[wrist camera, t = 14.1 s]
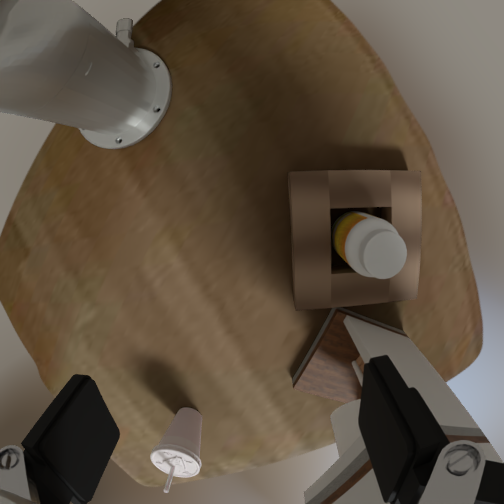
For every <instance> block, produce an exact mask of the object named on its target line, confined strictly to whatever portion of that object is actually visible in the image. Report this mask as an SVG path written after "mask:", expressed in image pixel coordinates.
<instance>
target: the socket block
mask: <svg viewBox="0 0 504 504" xmlns="http://www.w3.org/2000/svg"><path fill="white" fill-rule="evenodd" d="M288 188H289V205H290V224H291V245H292V270H293V300H294V305H295V309H296V311H297V310H311V309H324V308H336V307H347V306H357V305H367V304H377V303H386V302H394V301H402V300H410V299H417V292H418V282H419V270H420V255H421V232H422V189H421V171H402V170H323V171H294V172H288ZM360 207H381V219H384V220H386V221H387V222H389V223H390V224H392V225H393V226H394V228H395V229H396V230H397V232H398V234H399V236H400V237H401V238H402V239H403V241H404V242H405V245H406V249H407V257H406V261H405V264H404V266H403V268H402V269H401V270H400V271H399V272H398V273H397V274H396V275H395V276H393V277H391V278H388V279H378V278H375V277H366V276H363V275H360V274H359V273H357V272H356V271H355V270H354V269H352V268H351V267H350V266H349V265H338V266H331V224H330V209H331V208H360Z"/></svg>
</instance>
